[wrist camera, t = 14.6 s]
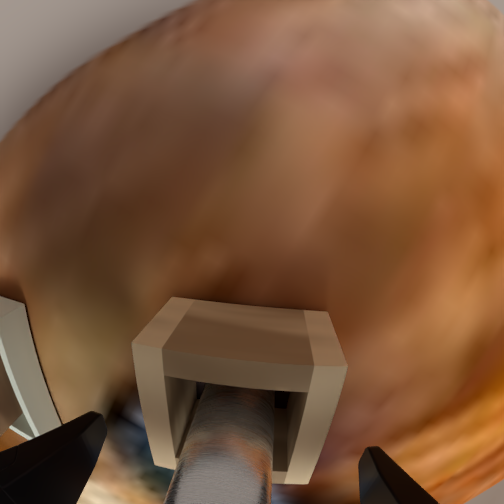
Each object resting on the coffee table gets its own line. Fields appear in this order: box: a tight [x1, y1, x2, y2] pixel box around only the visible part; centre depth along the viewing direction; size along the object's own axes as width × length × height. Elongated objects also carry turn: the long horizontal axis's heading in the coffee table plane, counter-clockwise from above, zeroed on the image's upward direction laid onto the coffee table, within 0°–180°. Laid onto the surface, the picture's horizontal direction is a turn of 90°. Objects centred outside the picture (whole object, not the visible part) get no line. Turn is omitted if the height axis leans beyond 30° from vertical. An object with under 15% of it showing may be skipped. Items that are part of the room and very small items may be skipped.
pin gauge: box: [163, 383, 275, 504], centre depth 8 cm, size 3×3×10 cm
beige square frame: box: [131, 297, 348, 484], centre depth 11 cm, size 6×6×4 cm
